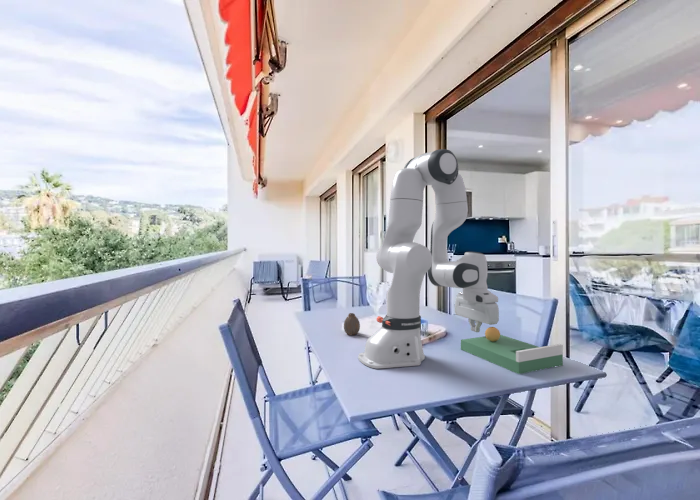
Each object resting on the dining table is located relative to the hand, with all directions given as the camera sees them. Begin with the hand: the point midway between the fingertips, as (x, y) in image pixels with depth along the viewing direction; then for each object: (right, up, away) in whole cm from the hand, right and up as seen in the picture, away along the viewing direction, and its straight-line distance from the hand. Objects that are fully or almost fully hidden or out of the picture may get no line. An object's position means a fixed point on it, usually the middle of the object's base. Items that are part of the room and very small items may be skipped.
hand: (475, 331), depth 134 cm
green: (+6, -5, -15) cm, 17 cm away
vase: (-46, -5, +18) cm, 50 cm away
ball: (+3, +1, -8) cm, 9 cm away
